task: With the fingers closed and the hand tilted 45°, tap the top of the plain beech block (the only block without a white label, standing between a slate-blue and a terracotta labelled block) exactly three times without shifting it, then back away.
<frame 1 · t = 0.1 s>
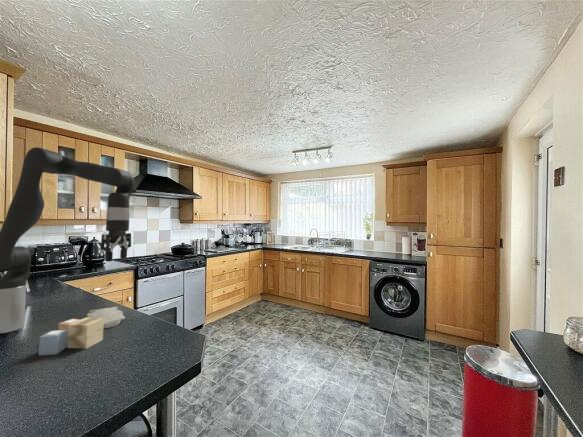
hand: (116, 259, 99), 29 cm above the kitchen counter, tool pointing down, fingers open, 8 cm apart
stone tool: (106, 321, 113), on the kitchen counter
plain block: (85, 343, 90), on the kitchen counter
terracotta label block: (70, 337, 95), on the kitchen counter
blue label block: (53, 351, 85), on the kitchen counter
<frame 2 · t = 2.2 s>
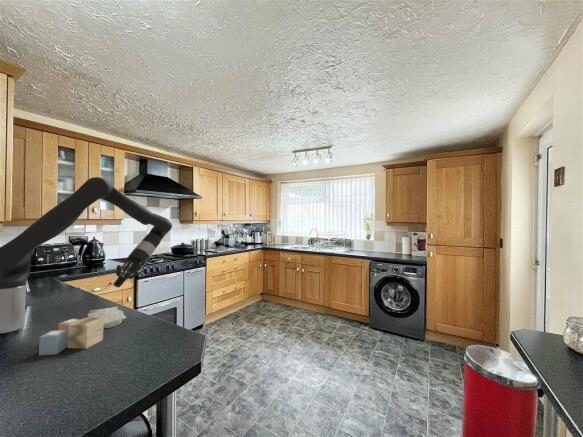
hand: (116, 286, 102), 18 cm above the kitchen counter, tool tilted 45°, fingers closed
nothing on the kitchen counter moved.
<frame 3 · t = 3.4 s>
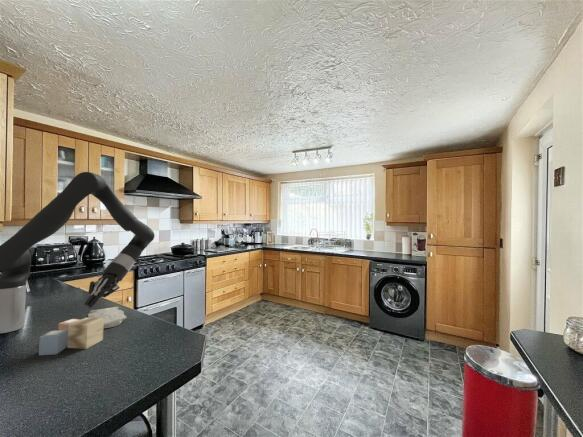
hand: (87, 306, 91), 13 cm above the kitchen counter, tool tilted 45°, fingers closed
nothing on the kitchen counter moved.
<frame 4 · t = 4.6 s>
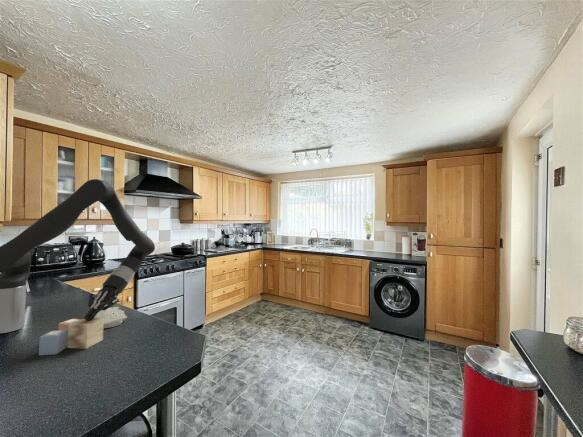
hand: (87, 319, 90), 8 cm above the kitchen counter, tool tilted 45°, fingers closed
plain block: (85, 343, 90), on the kitchen counter, touching gripper
everything else where it was.
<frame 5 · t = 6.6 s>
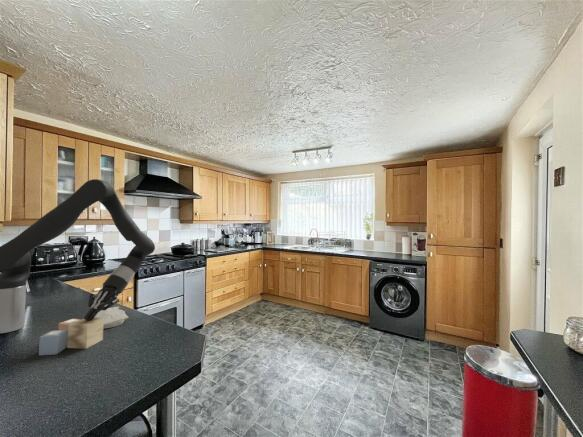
hand: (87, 319, 90), 8 cm above the kitchen counter, tool tilted 45°, fingers closed
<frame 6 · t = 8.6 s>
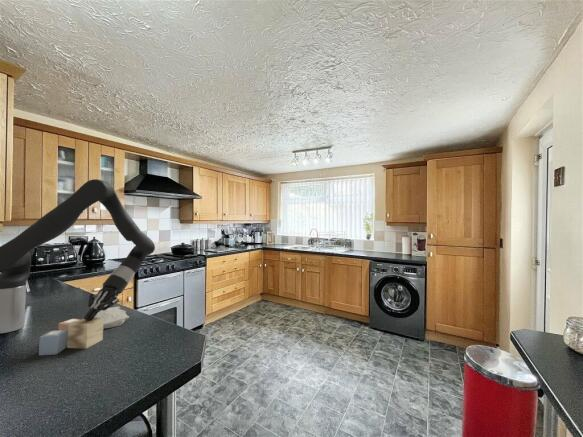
hand: (87, 319, 90), 8 cm above the kitchen counter, tool tilted 45°, fingers closed
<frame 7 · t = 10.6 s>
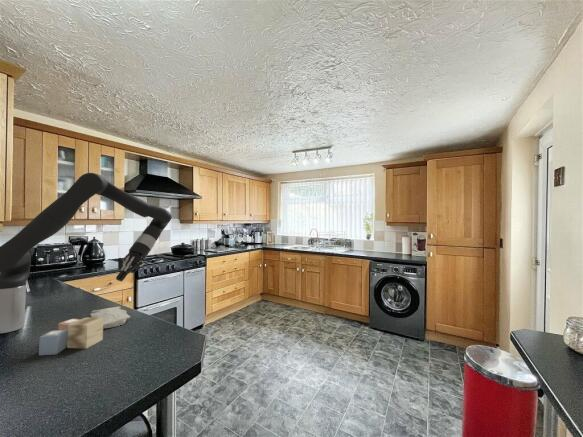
hand: (118, 280, 104), 20 cm above the kitchen counter, tool tilted 40°, fingers closed
plain block: (85, 343, 90), on the kitchen counter
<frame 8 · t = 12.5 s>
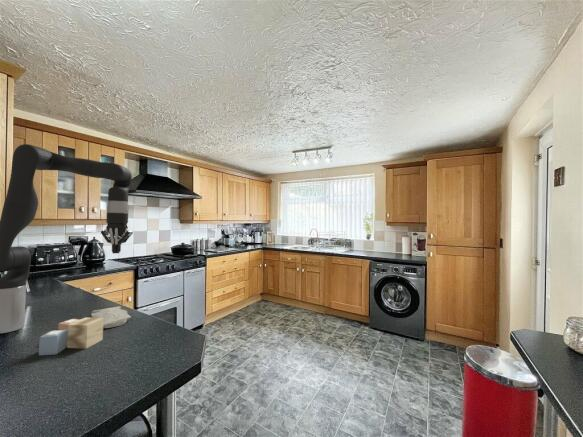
hand: (116, 253, 105), 31 cm above the kitchen counter, tool pointing down, fingers closed
at the end: plain block moved 0.2 cm from its start; plain block tilted 0°; blue label block moved 0.1 cm from its start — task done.
